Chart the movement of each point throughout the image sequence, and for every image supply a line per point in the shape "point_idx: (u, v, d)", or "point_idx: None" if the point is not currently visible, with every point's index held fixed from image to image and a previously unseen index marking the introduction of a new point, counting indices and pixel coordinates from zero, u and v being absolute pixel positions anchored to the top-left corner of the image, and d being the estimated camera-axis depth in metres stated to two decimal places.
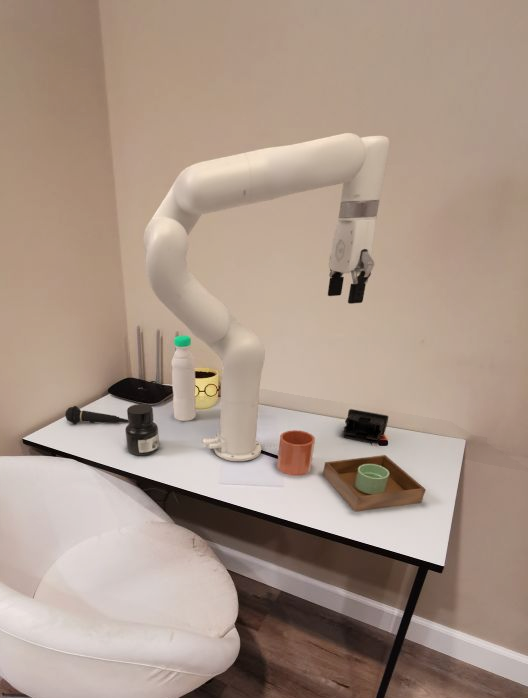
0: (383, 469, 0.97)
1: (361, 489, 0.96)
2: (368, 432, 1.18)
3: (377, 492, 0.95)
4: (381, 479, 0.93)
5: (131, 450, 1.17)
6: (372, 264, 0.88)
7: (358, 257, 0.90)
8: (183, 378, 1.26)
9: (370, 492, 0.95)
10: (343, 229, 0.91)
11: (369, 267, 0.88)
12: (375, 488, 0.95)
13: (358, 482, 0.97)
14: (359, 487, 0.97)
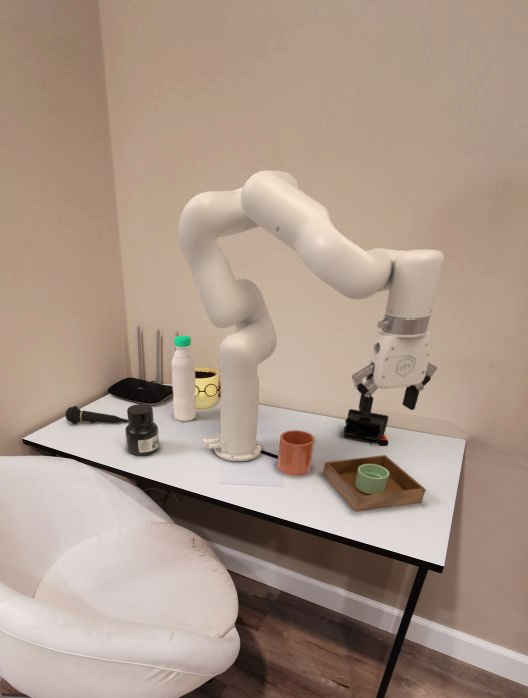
0: (383, 469, 0.97)
1: (361, 489, 0.96)
2: (368, 432, 1.18)
3: (377, 492, 0.95)
4: (381, 479, 0.93)
5: (131, 450, 1.17)
6: None
7: None
8: (183, 378, 1.26)
9: (370, 492, 0.95)
10: (412, 344, 0.79)
11: None
12: (375, 488, 0.95)
13: (358, 482, 0.97)
14: (359, 487, 0.97)
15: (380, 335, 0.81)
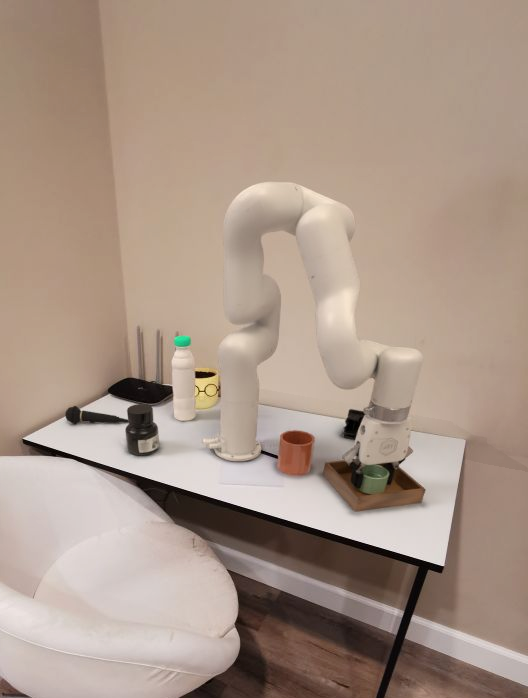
0: (383, 469, 0.97)
1: (361, 489, 0.96)
2: None
3: (377, 492, 0.95)
4: (381, 479, 0.93)
5: (131, 450, 1.17)
6: None
7: None
8: (183, 378, 1.26)
9: (370, 492, 0.95)
10: (394, 429, 0.87)
11: None
12: (375, 488, 0.95)
13: None
14: None
15: (365, 419, 0.89)
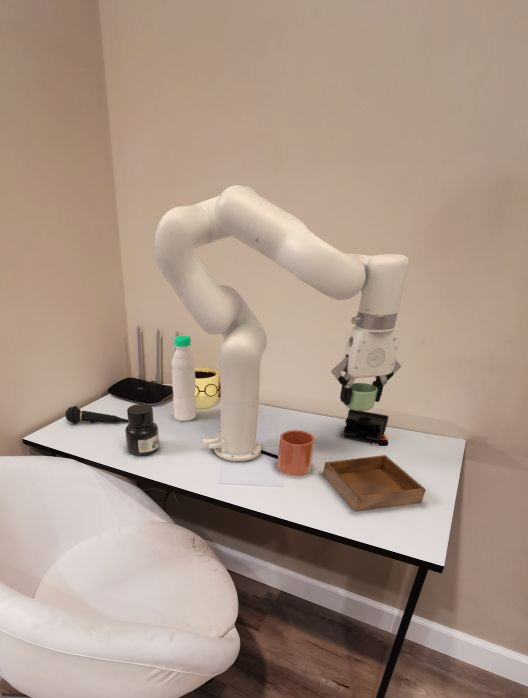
0: (372, 386, 0.99)
1: (350, 406, 0.98)
2: (368, 432, 1.18)
3: (366, 408, 0.97)
4: (369, 393, 0.95)
5: (131, 450, 1.17)
6: None
7: None
8: (183, 378, 1.26)
9: (359, 407, 0.97)
10: (381, 338, 0.89)
11: None
12: (364, 403, 0.97)
13: None
14: None
15: (354, 330, 0.91)
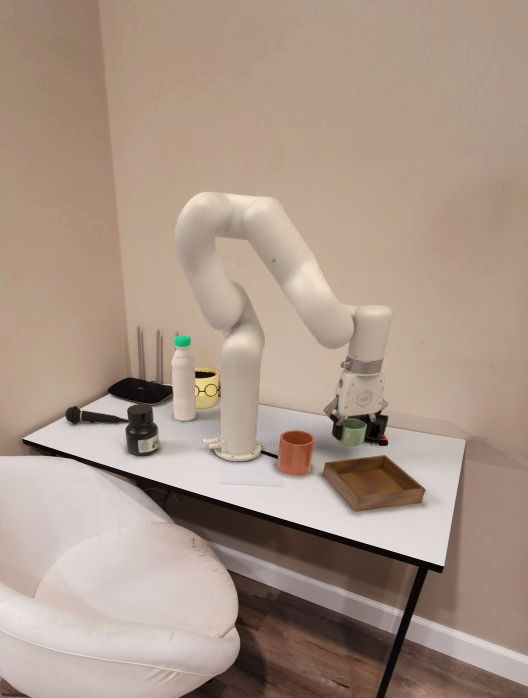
0: (362, 422, 1.05)
1: (341, 441, 1.05)
2: None
3: (356, 443, 1.04)
4: (359, 430, 1.02)
5: (131, 450, 1.17)
6: None
7: None
8: (183, 378, 1.26)
9: (350, 443, 1.04)
10: (369, 381, 0.96)
11: None
12: (354, 439, 1.03)
13: None
14: None
15: (343, 373, 0.97)
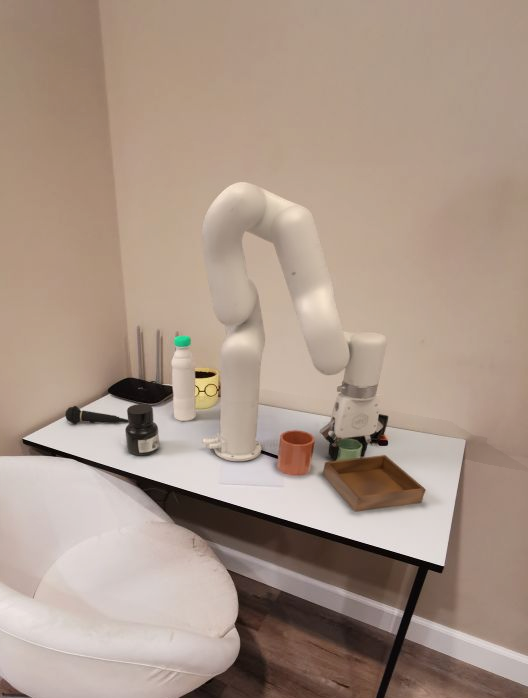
0: (357, 443, 1.08)
1: (337, 460, 1.08)
2: None
3: None
4: (355, 451, 1.05)
5: (131, 450, 1.17)
6: None
7: None
8: (183, 378, 1.26)
9: None
10: (364, 405, 0.99)
11: None
12: None
13: None
14: None
15: (339, 396, 1.00)
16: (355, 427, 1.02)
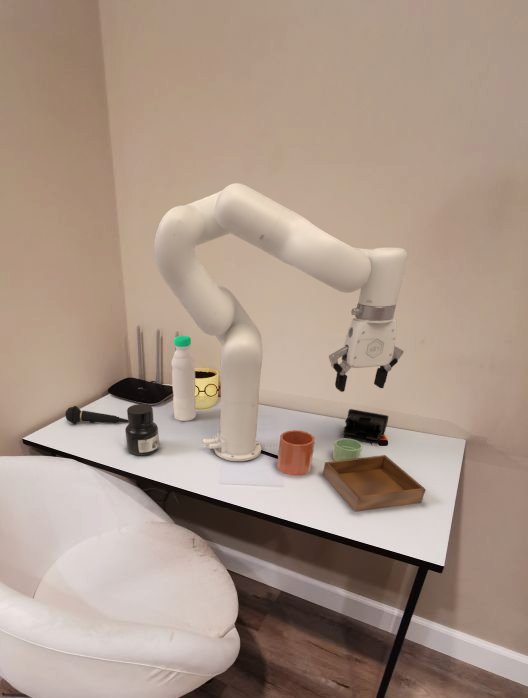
0: (357, 443, 1.08)
1: (337, 460, 1.08)
2: (368, 432, 1.18)
3: None
4: (355, 451, 1.05)
5: (131, 450, 1.17)
6: None
7: None
8: (183, 378, 1.26)
9: None
10: (380, 329, 0.92)
11: None
12: None
13: (335, 454, 1.08)
14: (336, 459, 1.08)
15: (353, 321, 0.94)
16: (370, 355, 0.95)
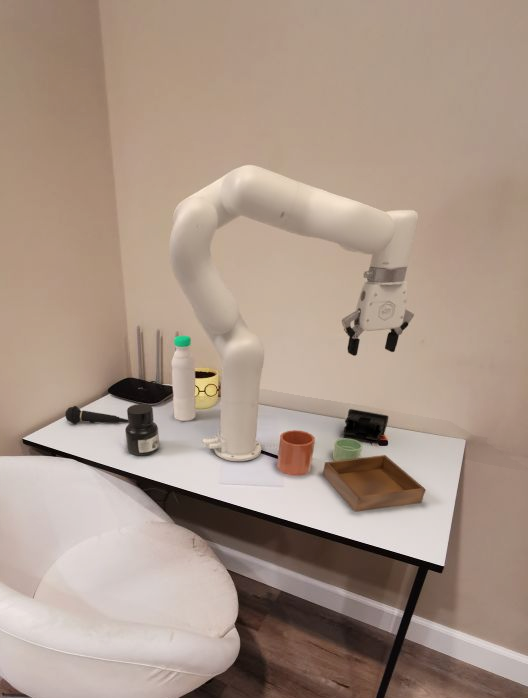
0: (357, 443, 1.08)
1: (337, 460, 1.08)
2: (368, 432, 1.18)
3: None
4: (355, 451, 1.05)
5: (131, 450, 1.17)
6: None
7: None
8: (183, 378, 1.26)
9: None
10: (392, 291, 0.95)
11: None
12: None
13: (335, 454, 1.08)
14: (336, 459, 1.08)
15: (365, 284, 0.97)
16: (382, 318, 0.98)
